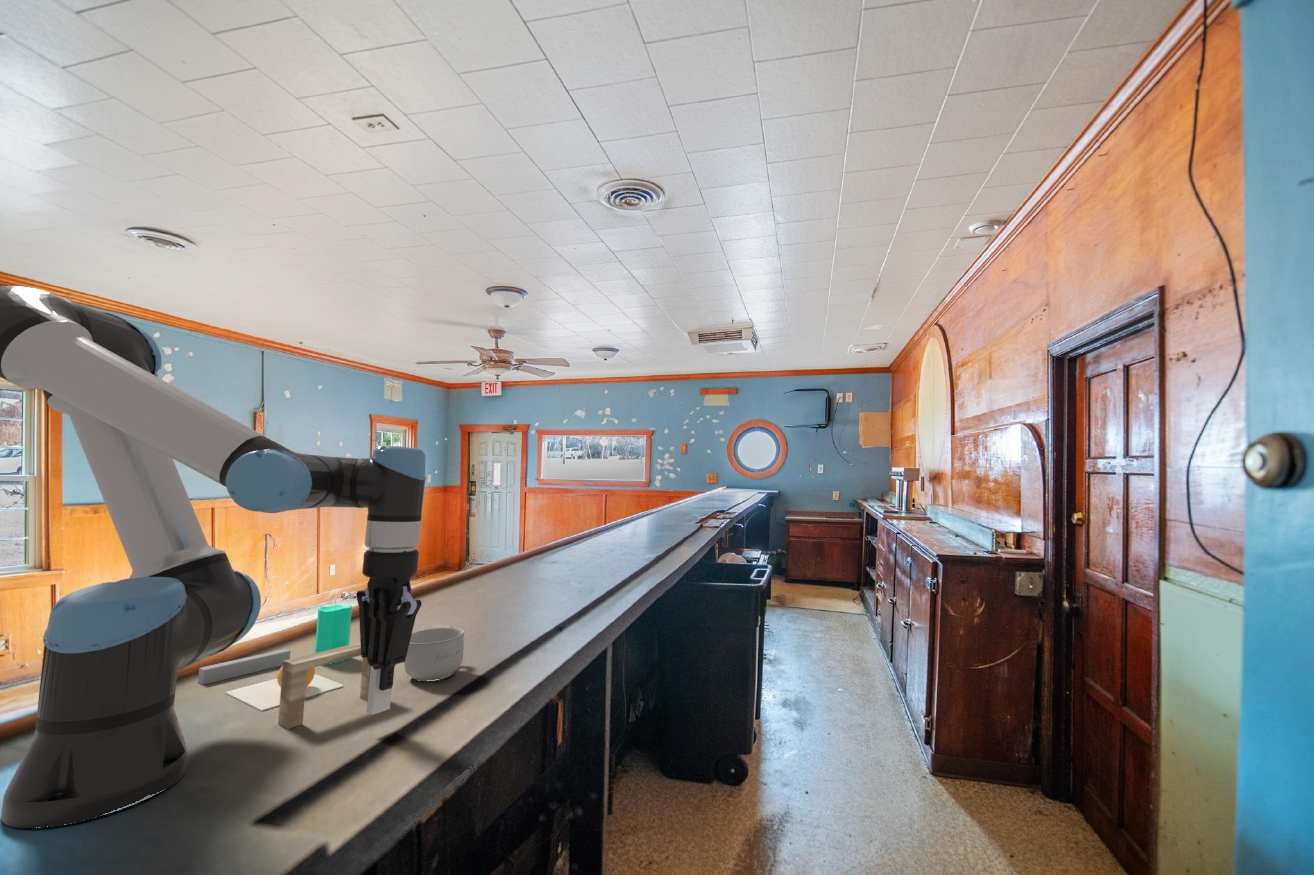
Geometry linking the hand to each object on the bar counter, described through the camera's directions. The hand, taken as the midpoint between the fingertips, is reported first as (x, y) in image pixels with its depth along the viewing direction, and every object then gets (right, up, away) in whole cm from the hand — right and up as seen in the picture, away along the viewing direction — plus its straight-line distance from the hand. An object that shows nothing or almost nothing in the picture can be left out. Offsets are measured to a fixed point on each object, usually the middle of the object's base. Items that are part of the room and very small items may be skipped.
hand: (378, 710), depth 81 cm
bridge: (-11, -3, +7) cm, 13 cm away
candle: (-25, -5, +31) cm, 40 cm away
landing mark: (-23, -4, +14) cm, 28 cm away
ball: (-22, -1, +14) cm, 26 cm away
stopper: (-36, -4, +22) cm, 43 cm away
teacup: (-1, -5, +24) cm, 25 cm away
